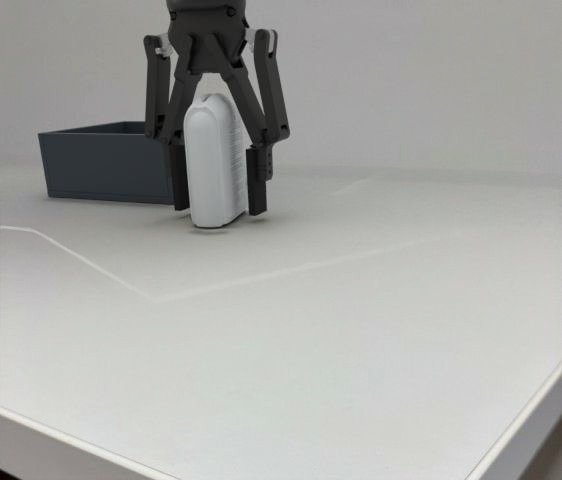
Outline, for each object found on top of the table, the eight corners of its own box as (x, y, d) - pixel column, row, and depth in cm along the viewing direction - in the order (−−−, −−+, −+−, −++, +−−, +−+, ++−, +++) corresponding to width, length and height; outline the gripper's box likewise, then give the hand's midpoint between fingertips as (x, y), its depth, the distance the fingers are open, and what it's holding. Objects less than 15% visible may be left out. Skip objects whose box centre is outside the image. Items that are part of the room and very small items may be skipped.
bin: (48, 196, 89) (37, 133, 86) (130, 175, 103) (123, 120, 100) (175, 204, 81) (168, 135, 78) (244, 181, 95) (241, 121, 92)
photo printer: (214, 208, 78) (206, 91, 73) (251, 208, 77) (245, 90, 72) (186, 228, 69) (174, 96, 64) (227, 229, 68) (219, 95, 63)
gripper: (324, -43, 62) (325, 209, 72) (134, -24, 71) (157, 199, 80) (290, -53, 56) (296, 224, 66) (86, -31, 64) (118, 212, 74)
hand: (220, 210), depth 73 cm, fingers open, 8 cm apart
